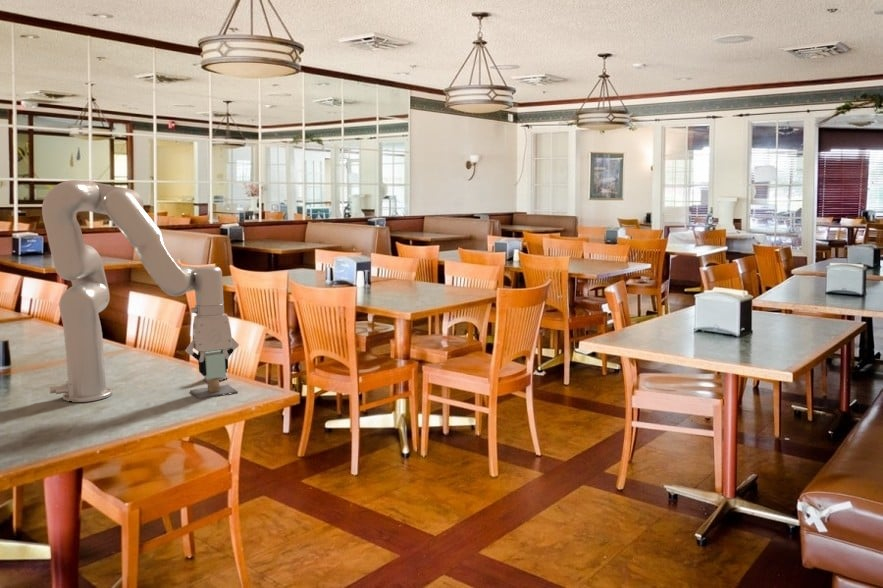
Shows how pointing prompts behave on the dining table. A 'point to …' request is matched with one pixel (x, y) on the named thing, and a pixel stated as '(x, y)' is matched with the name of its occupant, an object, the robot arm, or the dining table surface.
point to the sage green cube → (215, 364)
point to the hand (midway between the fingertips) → (213, 372)
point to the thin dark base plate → (213, 389)
